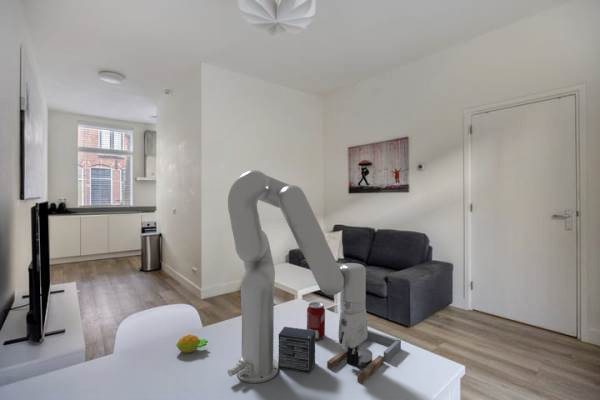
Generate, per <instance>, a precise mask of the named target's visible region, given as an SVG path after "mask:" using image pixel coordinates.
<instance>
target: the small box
mask: <svg viewBox="0 0 600 400" xmlns="http://www.w3.org/2000/svg"><path fill="white" fill-rule="evenodd" d="M315 365H316V340H315V331H314V330H307V328H306V329H305V328H298V327H290V326H283V328H282V330H281V331H280V332H279V333H278V369H284V370H287V371H288V370H289V371H295V372H301V373H307V374H311V373H312V371H313V369H314V367H315Z"/></svg>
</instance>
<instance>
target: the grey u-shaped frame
mask: <svg viewBox="0 0 600 400" xmlns="http://www.w3.org/2000/svg"><path fill="white" fill-rule="evenodd" d="M366 340H367V341H368V340H369V341H372V342H375V343H376V344H380V345H383V346H386V347H387V348H386V349H385V350H384V351H383V357H384V363H388V362H389V361H390V360H392V358H393V357H395V355H396V354H397V353H398V352H399V351H400V350H401V349H402V347H401V345H402V342H401V341H402V340H401V339H397V338H395V337H391V336H390V335H389V336H388V335H385V334H383V333H380V332H377V331H373V330H370V329H368V336H367V338H366ZM366 340H364V341H363V342H362V343H360V345H361V344H363V343H364V342H365V341H366Z"/></svg>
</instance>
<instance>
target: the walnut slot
mask: <svg viewBox="0 0 600 400" xmlns="http://www.w3.org/2000/svg"><path fill="white" fill-rule="evenodd" d="M346 355H347V352H344V351H342V350H341V351H339V352H338V353H337V354H335V355H334V356H333V357H331V358H330V359H328V360H327V361H326V368H327V369H329V370H332V369H334V368H335V367H336V366H338V365H340V363H342V362H343V361H345V359H346ZM384 363H385V362H384V355H383V356H382V355H378V356H377V357H376V358H374V359H372V362H371V363H370V364H369V365H368V366H367V367H366V368H363V369H362V370H361V371H360V372H359V373H358V374H357V378H356V380H357V383H358V384H361V385H363V384H364V383H365V382H366V381H367V380H368V379H369V378H370V377H371V376H372V375H373V374H374V373H375V372H376V371H377V370H378V369H379V368H380V367H382V365H384Z"/></svg>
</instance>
